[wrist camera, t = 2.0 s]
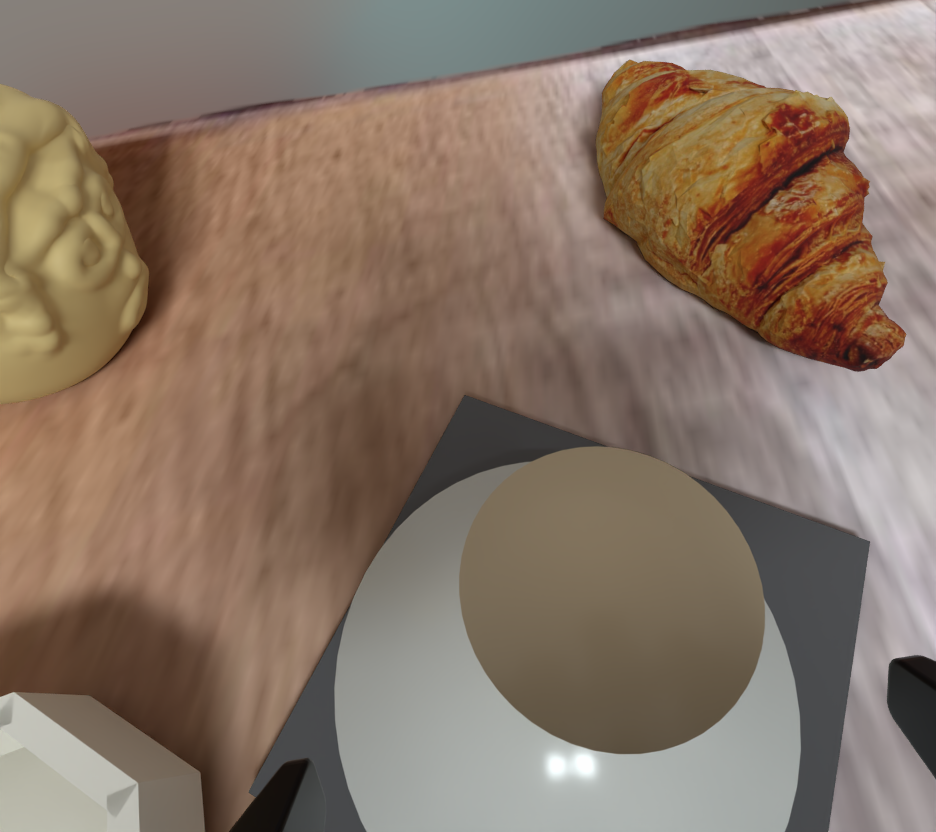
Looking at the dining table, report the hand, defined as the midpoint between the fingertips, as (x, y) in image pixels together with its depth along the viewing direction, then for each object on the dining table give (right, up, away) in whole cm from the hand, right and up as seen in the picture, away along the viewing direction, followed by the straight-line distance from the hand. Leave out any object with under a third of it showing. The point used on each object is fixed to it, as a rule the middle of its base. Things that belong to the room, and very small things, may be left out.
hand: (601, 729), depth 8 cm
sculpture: (-22, +9, +19) cm, 30 cm away
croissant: (+10, +14, +18) cm, 25 cm away
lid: (+1, -3, +9) cm, 9 cm away
